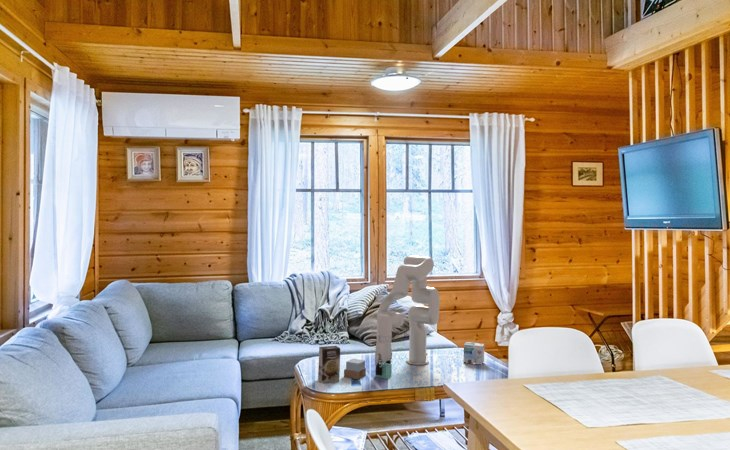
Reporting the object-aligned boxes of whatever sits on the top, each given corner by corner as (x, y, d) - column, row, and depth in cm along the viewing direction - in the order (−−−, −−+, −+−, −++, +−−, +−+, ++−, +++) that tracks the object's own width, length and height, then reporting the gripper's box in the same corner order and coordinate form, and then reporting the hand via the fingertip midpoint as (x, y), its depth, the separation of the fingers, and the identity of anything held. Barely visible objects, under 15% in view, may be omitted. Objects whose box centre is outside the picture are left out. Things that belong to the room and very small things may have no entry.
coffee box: (321, 383, 232) (322, 349, 232) (317, 379, 238) (318, 346, 238) (339, 381, 235) (340, 348, 236) (335, 377, 241) (336, 345, 242)
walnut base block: (352, 373, 250) (352, 365, 250) (365, 376, 246) (365, 368, 246) (343, 377, 243) (344, 369, 243) (357, 380, 239) (358, 372, 239)
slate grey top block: (353, 366, 249) (353, 358, 249) (365, 368, 246) (365, 360, 246) (346, 369, 243) (346, 361, 243) (358, 371, 240) (358, 363, 240)
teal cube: (380, 374, 250) (381, 362, 250) (391, 376, 247) (391, 364, 247) (375, 377, 244) (375, 365, 244) (386, 379, 241) (386, 366, 242)
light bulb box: (463, 363, 274) (463, 344, 274) (465, 360, 280) (465, 341, 280) (482, 365, 270) (482, 346, 270) (484, 362, 276) (484, 343, 276)
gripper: (385, 334, 255) (384, 367, 255) (369, 340, 240) (368, 375, 240) (398, 336, 251) (397, 369, 251) (383, 342, 236) (382, 378, 236)
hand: (383, 372), depth 245 cm, fingers open, 9 cm apart
